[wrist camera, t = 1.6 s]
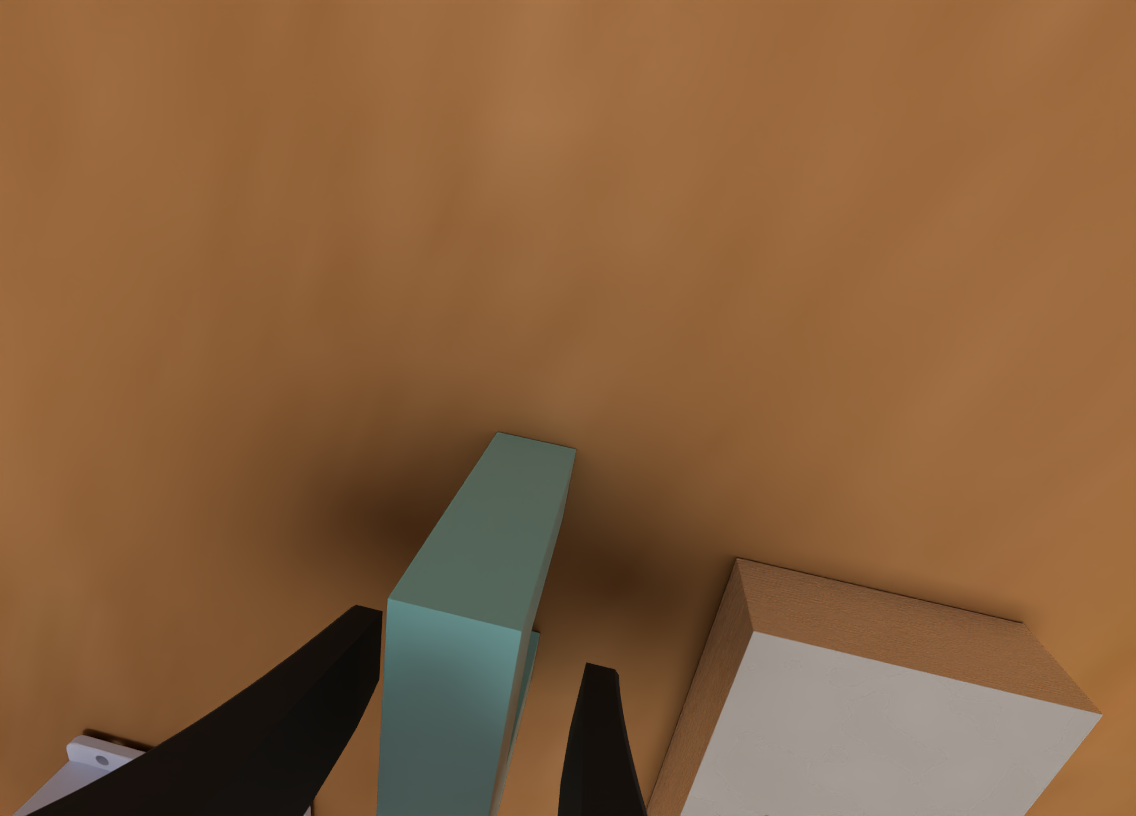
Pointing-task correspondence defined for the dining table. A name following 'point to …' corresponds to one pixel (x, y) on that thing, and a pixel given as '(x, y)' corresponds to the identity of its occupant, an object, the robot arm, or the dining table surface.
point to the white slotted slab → (865, 707)
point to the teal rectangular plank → (469, 634)
